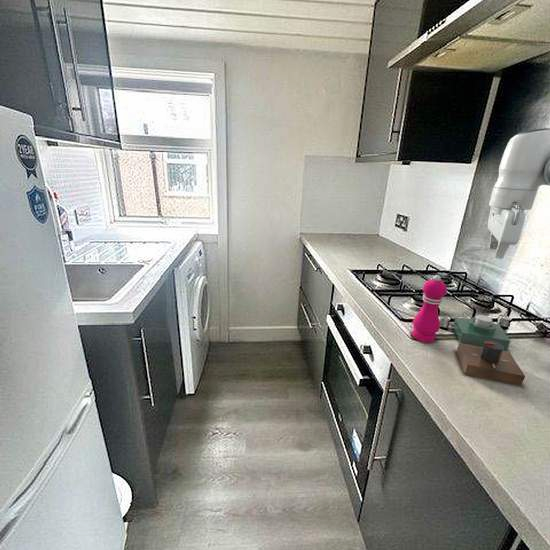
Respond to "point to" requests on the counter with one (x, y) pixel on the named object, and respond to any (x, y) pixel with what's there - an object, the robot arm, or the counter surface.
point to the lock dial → (492, 351)
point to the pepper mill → (429, 311)
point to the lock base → (489, 365)
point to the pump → (483, 321)
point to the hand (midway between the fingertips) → (495, 253)
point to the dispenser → (479, 332)
